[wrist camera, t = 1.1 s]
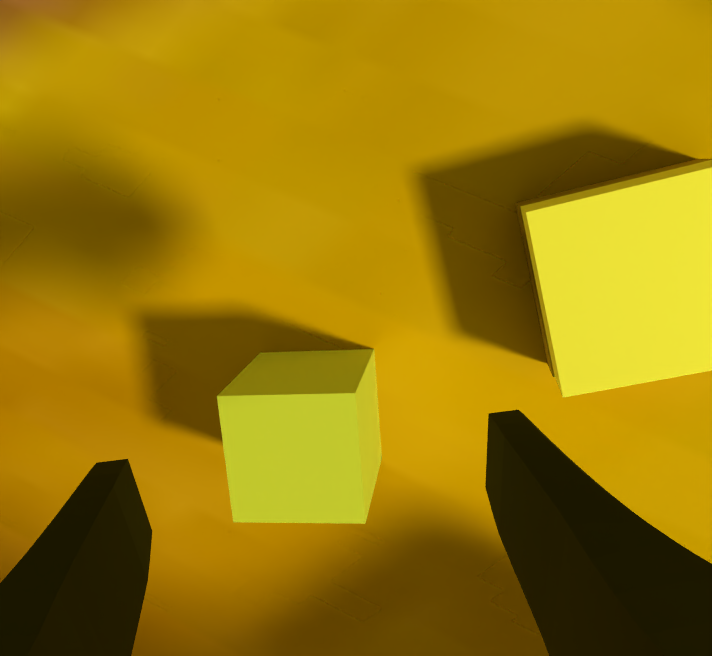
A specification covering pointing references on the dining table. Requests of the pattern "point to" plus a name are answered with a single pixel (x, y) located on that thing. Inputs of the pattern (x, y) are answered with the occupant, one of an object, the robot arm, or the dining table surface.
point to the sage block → (302, 437)
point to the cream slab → (626, 279)
